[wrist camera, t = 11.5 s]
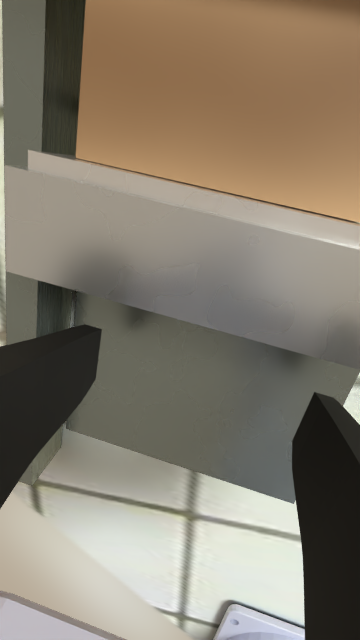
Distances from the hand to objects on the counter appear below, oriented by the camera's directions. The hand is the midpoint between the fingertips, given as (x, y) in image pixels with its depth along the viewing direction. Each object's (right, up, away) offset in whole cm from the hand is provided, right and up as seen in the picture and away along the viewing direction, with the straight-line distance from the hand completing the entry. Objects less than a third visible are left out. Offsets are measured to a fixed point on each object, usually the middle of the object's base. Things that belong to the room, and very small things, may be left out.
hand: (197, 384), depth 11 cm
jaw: (+1, +5, 0) cm, 5 cm away
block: (+1, +9, 0) cm, 9 cm away
